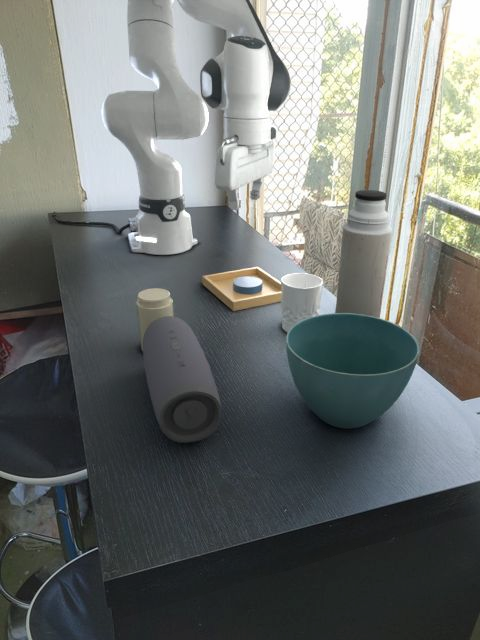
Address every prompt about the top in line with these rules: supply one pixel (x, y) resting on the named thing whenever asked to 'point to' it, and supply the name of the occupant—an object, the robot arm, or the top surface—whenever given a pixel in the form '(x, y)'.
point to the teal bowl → (350, 366)
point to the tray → (235, 301)
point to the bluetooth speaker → (180, 381)
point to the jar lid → (247, 285)
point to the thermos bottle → (364, 255)
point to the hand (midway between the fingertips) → (245, 203)
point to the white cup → (299, 298)
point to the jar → (152, 308)
